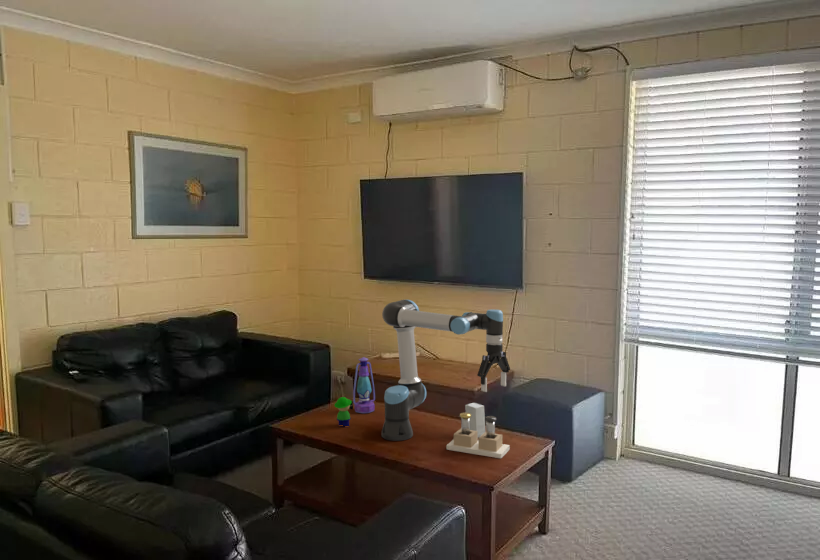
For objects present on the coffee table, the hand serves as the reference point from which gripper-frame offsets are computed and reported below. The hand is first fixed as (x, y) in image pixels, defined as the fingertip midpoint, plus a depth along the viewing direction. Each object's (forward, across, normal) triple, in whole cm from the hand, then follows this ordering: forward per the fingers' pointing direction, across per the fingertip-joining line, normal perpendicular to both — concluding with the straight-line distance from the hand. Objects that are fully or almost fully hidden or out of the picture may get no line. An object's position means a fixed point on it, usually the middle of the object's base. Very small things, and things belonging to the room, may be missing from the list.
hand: (493, 388), depth 289 cm
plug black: (+20, -9, -6) cm, 23 cm away
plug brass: (+20, -14, +5) cm, 25 cm away
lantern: (+27, -14, +81) cm, 87 cm away
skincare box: (+26, +2, +13) cm, 30 cm away
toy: (+27, -37, +69) cm, 82 cm away
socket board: (+26, -12, -1) cm, 28 cm away
